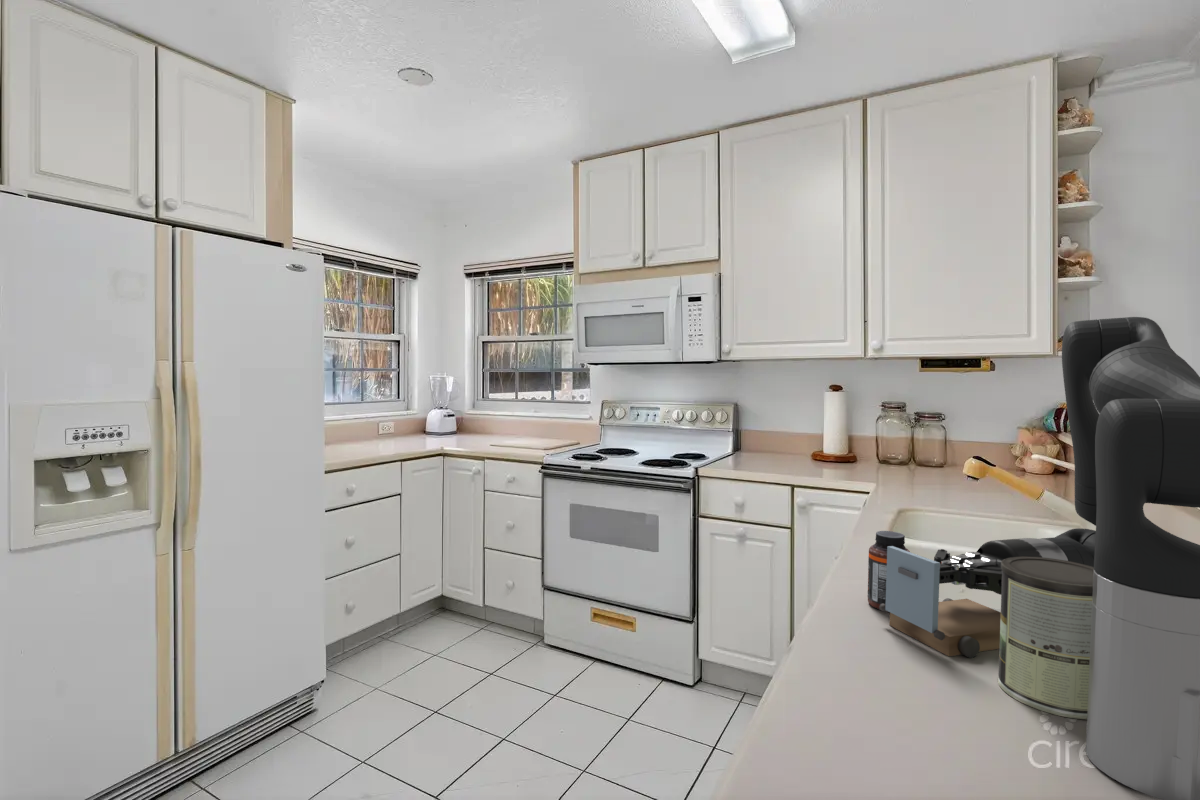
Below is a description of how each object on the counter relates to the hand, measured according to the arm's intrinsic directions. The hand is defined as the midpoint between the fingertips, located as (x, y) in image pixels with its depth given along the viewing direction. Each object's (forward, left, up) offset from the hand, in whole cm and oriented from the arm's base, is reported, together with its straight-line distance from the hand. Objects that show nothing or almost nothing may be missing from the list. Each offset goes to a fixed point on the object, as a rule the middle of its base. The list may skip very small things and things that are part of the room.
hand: (925, 575), depth 82 cm
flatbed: (-1, -6, -9) cm, 10 cm away
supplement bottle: (+10, -4, -9) cm, 14 cm away
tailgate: (0, +2, -6) cm, 6 cm away
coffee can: (-16, -2, -9) cm, 18 cm away
